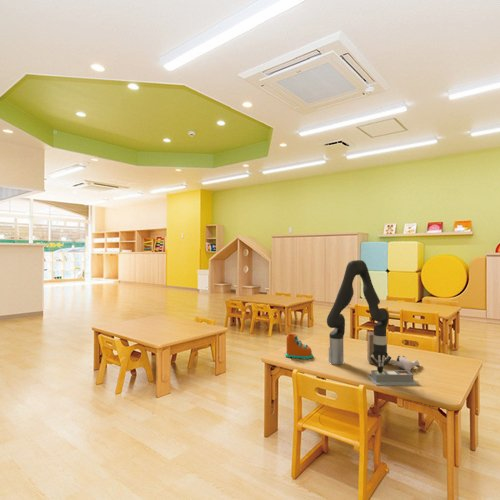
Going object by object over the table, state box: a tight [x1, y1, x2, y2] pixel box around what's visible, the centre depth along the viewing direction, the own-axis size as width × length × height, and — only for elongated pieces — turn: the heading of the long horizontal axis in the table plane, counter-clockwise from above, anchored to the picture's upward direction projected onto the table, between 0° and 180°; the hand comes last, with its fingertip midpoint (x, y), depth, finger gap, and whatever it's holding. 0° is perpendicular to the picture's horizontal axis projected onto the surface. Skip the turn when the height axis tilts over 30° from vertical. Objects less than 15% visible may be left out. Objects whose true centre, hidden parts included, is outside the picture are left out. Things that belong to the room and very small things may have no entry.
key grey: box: [386, 371, 397, 375], centre depth 199 cm, size 5×5×2 cm
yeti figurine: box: [387, 355, 420, 373], centre depth 222 cm, size 20×7×20 cm
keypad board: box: [366, 369, 419, 387], centre depth 199 cm, size 24×14×5 cm, turn 91°
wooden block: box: [366, 331, 385, 365], centre depth 231 cm, size 10×10×20 cm
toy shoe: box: [285, 333, 314, 360], centre depth 245 cm, size 12×20×15 cm, turn 74°
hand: (380, 372), depth 199 cm, fingers closed
